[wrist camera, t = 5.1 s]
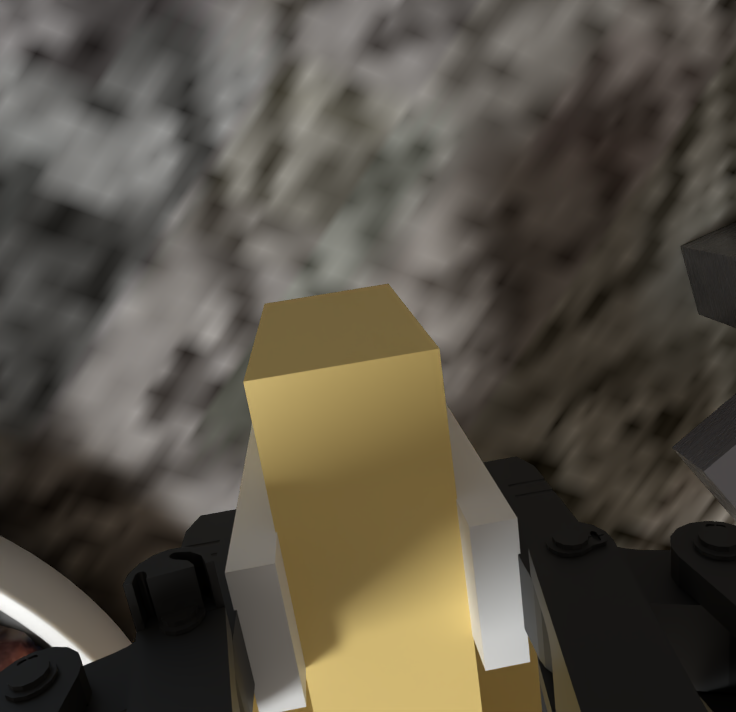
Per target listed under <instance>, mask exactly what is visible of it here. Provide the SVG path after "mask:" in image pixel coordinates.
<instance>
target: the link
mask: <svg viewBox="0 0 736 712" xmlns="http://www.w3.org/2000/svg"><path fill="white" fill-rule="evenodd" d="M244 386H245V391H246V396H247V401H248V405H249V410H250V415H251V419H252V424H253V429H254V434H255V438H256V443H257V448H258V453H259V457H260V462H261V467H262V471H263V476H264V481H265V486H266V490H267V495H268V500H269V504H270V509H271V514H272V519H273V523H274V528H275V532H277V535H278V539H279V544H280V549H281V554H282V558H283V563H284V568H285V572H286V577H287V582H288V587H289V591H290V596H291V601H292V605H293V610H294V615H295V619H296V624H297V629H298V634H299V638H300V643H301V648H302V652H303V657H304V662H305V667H306V707H303V708H298V709H293V710H288V711H283V712H542V705H541V693H540V681H539V669H538V658H537V653H536V651H535V649H534V647H533V645H532V643H531V641H530V639H529V637H528V644H529V655H530V662H528V663H522V664H517V665H512V666H507V667H502V668H497V669H492V670H487V671H485V668H484V665H483V663H482V660H481V657H480V655H479V652H478V649H477V646H476V644H475V641H474V638H473V636H472V628H471V620H470V611H469V603H468V595H467V586H466V578H465V570H464V562H463V553H462V545H461V537H460V528H459V520H458V512H457V503H456V499H457V494H456V485H455V477H454V468H453V460H452V451H451V443H450V435H449V426H448V418H447V409H446V401H445V392H444V384H443V375H442V367H441V359H440V350H439V348H438V346H437V345H436V344H435V342H434V341H433V340H432V339H431V337H430V336H429V335H428V334H427V332H426V331H425V330H424V329H423V327H422V326H421V325H420V323H419V322H418V321H417V320H416V318H415V317H414V316H413V315H412V313H411V312H410V311H409V309H408V308H407V307H406V306H405V304H404V303H403V302H402V301H401V299H400V298H399V297H398V295H397V294H396V293H395V292H394V290H393V289H392V288H391V287H390V285H389V284H384V285H378V286H371V287H365V288H359V289H353V290H347V291H341V292H335V293H328V294H322V295H316V296H310V297H304V298H298V299H291V300H285V301H279V302H273V303H267V304H265V305H264V308H263V312H262V316H261V319H260V323H259V327H258V330H257V334H256V338H255V341H254V345H253V349H252V352H251V356H250V360H249V363H248V367H247V371H246V374H245V378H244ZM253 712H259V710H258V706H257V702H256V698H255V694H254V701H253Z"/></svg>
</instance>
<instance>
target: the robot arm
mask: <svg viewBox="0 0 736 712" xmlns="http://www.w3.org/2000/svg"><path fill="white" fill-rule="evenodd" d="M446 409H447V418H448V426H449V435H450V443H451V451H452V460H453V468H454V477H455V485H456V494H457V499H456V503H457V512H458V520H459V528H460V537H461V545H462V553H463V562H464V570H465V578H466V586H467V595H468V603H469V611H470V620H471V628H472V636H473V638H474V641H475V644H476V646H477V649H478V652H479V655H480V657H481V660H482V663H483V665H484V668H485V671H487V670H492V669H497V668H502V667H507V666H512V665H517V664H522V663H528V662H530V655H529V644H528V637H529V639H530V641H531V643H532V645H533V647H534V649H535V651H536V653H537V658H538V669H539V681H540V693H541V705H542V712H736V526H735V525H731V524H728V523H724V522H717V521H716V522H714V521H703V522H695V523H689V524H687V525H684V526H682V527H679V528H677V529H676V530H675V532H674V533H673V534H672V535H671V550H635V549H625V548H620V547H617V545H616V544H615V542H614V540H613V539H612V538H611V537H610V536H609V535H608V534H607V533H606V532H605V531H603V530H601V529H599V528H597V527H595V526H593V525H590V524H585V523H581V522H578V521H577V519H576V518H575V517H574V516H573V514H572V513H571V512H570V510H569V509H568V508H567V507H566V505H565V504H564V503H563V502H562V500H561V499H560V498H559V497H558V495H557V494H556V493H555V491H553V490H552V488H551V486H550V485H549V484H548V483H547V481H545V480H544V477H543V476H542V475H541V474H540V472H539V471H538V470H537V469H536V467H535V466H534V465H532V464H530V463H528V462H526V461H524V460H522V459H520V458H518V457H511V458H506V459H500V460H495V461H489V462H484V463H483V462H482V460H481V459H480V457H479V456H478V454H477V452H476V451H475V449H474V448H473V446H472V444H471V443H470V441H469V440H468V438H467V436H466V435H465V433H464V431H463V430H462V428H461V427H460V425H459V423H458V422H457V420H456V419H455V417H454V415H453V414H452V412H451V411H450V409H449V407H448V406H447V404H446ZM123 587H124V591H125V594H126V597H127V601H128V604H129V607H130V611H131V614H132V617H133V621H134V624H135V627H136V631H137V634H136V641H135V642H133V643H132V644H130V645H129V646H127V647H125V648H123V649H121V650H119V651H117V652H115V653H113V654H110V655H108V656H106V657H103V658H101V659H98V660H96V661H93V662H91V663H89V664H86V665H84V666H83V664H82V661H81V658H80V655H79V653H78V652H77V651H75V650H73V649H71V648H69V647H51V648H47V649H43V650H39V651H35V652H33V653H30V654H28V655H27V656H24V657H22V658H20V659H18V660H16V661H15V662H13V663H12V664H11V665H9V666H8V667H6V668H5V669H4V670H2V671H1V672H0V712H253V701H254V694H255V698H256V702H257V706H258V710H259V712H283V711H288V710H293V709H298V708H303V707H306V667H305V662H304V657H303V652H302V648H301V643H300V638H299V634H298V629H297V624H296V619H295V615H294V610H293V605H292V601H291V596H290V591H289V587H288V582H287V577H286V572H285V568H284V563H283V558H282V554H281V549H280V544H279V539H278V535H277V532H275V528H274V523H273V519H272V514H271V509H270V504H269V500H268V495H267V490H266V486H265V481H264V476H263V471H262V467H261V462H260V457H259V453H258V448H257V443H256V438H255V434H254V429H253V424H252V427H251V432H250V438H249V443H248V449H247V454H246V460H245V465H244V470H243V476H242V481H241V487H240V492H239V498H238V503H237V509H235V510H230V511H224V512H219V513H213V514H208V515H202V516H200V517H199V518H198V519H197V520H196V521H195V522H194V523H193V525H192V526H191V527H190V528H189V529H188V530H187V531H186V534H185V537H184V540H183V543H182V547H181V548H176V549H170V550H167V551H165V552H162V553H159V554H156V555H154V556H152V557H150V558H149V559H147V560H145V561H144V562H142V563H140V564H139V565H138V566H137V567H136V568H134V569H133V570H132V571H131V572H130V573H129V574H128V576H127V578H126V580H125V582H124V584H123Z"/></svg>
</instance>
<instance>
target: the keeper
mask: <svg viewBox="0 0 736 712" xmlns="http://www.w3.org/2000/svg"><path fill="white" fill-rule="evenodd" d="M681 250H682V254H683V257H684V261H685V265H686V268H687V272H688V276H689V279H690V283H691V287H692V290H693V294H694V298H695V301H696V305H697V309H698V312H699V314H700V315H702V316H705V317H708V318H710V319H713V320H716V321H719V322H721V323H724V324H727V325H729V326H732V327H735V328H736V222H735V223H732V224H730V225H728V226H726V227H723V228H721V229H719V230H717V231H714V232H712V233H710V234H708V235H705V236H703V237H701V238H699V239H696V240H694V241H692V242H690V243H687V244H685V245H683V246H681ZM672 448H673V449H674V450H675V452H676V453H677V454H678V455H679V456H680V457H681V458H682V460H683V461H684V462H685V463H686V464H687V465H688V467H689V468H690V469H691V470H692V471H693V472H694V473H695V475H696V476H697V477H698V478H699V479H700V480H701V482H702V483H703V484H704V485H705V486H706V487H707V488H708V490H709V491H710V492H711V493H712V494H713V495H714V497H715V498H716V499H717V500H718V501H719V502H720V503H721V505H722V506H723V507H724V508H725V509H726V510H727V512H728V513H729V514H730V515H731V516H732V517H733V518H734V520H735V521H736V394H735V395H733V396H732V397H731V398H730V399H729V400H727V401H726V402H725V403H724V404H723V405H722V406H720V407H719V408H718V409H717V410H716V411H715V412H713V413H712V414H711V415H710V416H709V417H707V418H706V419H705V420H704V421H703V422H702V423H700V424H699V425H698V426H697V427H696V428H694V429H693V430H692V431H691V432H690V433H689V434H687V435H686V436H685V437H684V438H683V439H681V440H680V441H679V442H678V443H677V444H676V445H674V446H673V447H672Z"/></svg>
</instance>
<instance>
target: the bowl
mask: <svg viewBox="0 0 736 712" xmlns="http://www.w3.org/2000/svg"><path fill="white" fill-rule="evenodd" d="M130 644H132V643H131V642H130V640H129V639H128V638H127V637H126V635H125V634H124V633H123V632H122V630H121V629H120V628H119V627H118V626H117V625H116V624H115V622H114V621H113V620H112V619H111V618H110V617H109V616H108V615H107V614H106V613H105V612H104V611H103V610H102V609H101V608H100V607H99V606H98V605H97V604H96V603H95V602H94V601H93V600H92V599H91V598H90V597H89V596H88V595H86V594H85V593H84V592H83V591H82V590H81V589H79V588H78V587H77V586H76V585H75V584H73V583H72V582H71V581H70V580H69V579H67V578H66V577H65V576H63V575H62V574H61V573H59V572H58V571H57V570H55V569H54V568H53V567H51V566H50V565H48V564H47V563H45V562H44V561H42V560H41V559H39V558H38V557H36V556H35V555H33V554H32V553H30V552H28V551H27V550H25V549H23V548H21V547H20V546H18V545H16V544H15V543H13V542H11V541H9V540H7V539H6V538H4V537H2V536H0V672H1V671H2V670H4V669H5V668H6V667H8V666H9V665H11V664H12V663H13V662H15V661H16V660H18V659H20V658H22V657H24V656H27V655H28V654H30V653H33V652H35V651H39V650H43V649H47V648H51V647H69V648H71V649H73V650H75V651H77V652H78V653H79V655H80V658H81V661H82V664H83V666H84V665H86V664H89V663H91V662H93V661H96V660H98V659H101V658H103V657H106V656H108V655H110V654H113V653H115V652H117V651H119V650H121V649H123V648H125V647H127V646H129V645H130Z"/></svg>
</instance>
